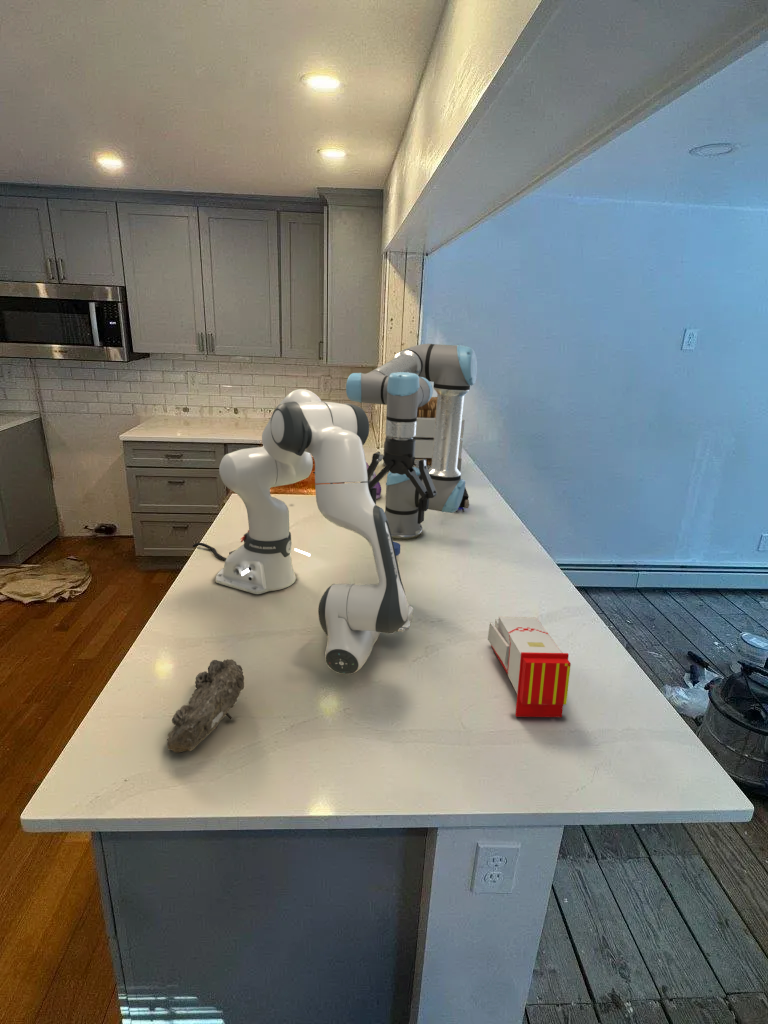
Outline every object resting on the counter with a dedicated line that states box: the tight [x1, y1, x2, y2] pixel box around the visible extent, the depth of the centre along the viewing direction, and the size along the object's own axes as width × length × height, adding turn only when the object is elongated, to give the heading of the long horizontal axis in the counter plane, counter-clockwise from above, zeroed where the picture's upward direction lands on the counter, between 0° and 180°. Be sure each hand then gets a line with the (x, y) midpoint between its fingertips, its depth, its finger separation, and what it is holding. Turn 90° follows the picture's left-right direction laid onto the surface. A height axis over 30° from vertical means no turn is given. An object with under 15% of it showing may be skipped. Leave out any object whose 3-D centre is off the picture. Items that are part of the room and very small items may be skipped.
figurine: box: [366, 461, 382, 500], centre depth 234 cm, size 9×10×15 cm
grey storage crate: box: [383, 396, 465, 474], centre depth 268 cm, size 34×33×41 cm
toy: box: [487, 616, 572, 718], centre depth 123 cm, size 12×13×30 cm
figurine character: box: [455, 487, 470, 513], centre depth 227 cm, size 7×8×15 cm
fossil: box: [166, 658, 245, 754], centre depth 106 cm, size 22×10×15 cm
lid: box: [393, 541, 401, 556], centre depth 150 cm, size 5×5×2 cm
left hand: (378, 596), depth 142 cm, fingers open, 8 cm apart
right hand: (396, 517), depth 147 cm, fingers open, 13 cm apart
